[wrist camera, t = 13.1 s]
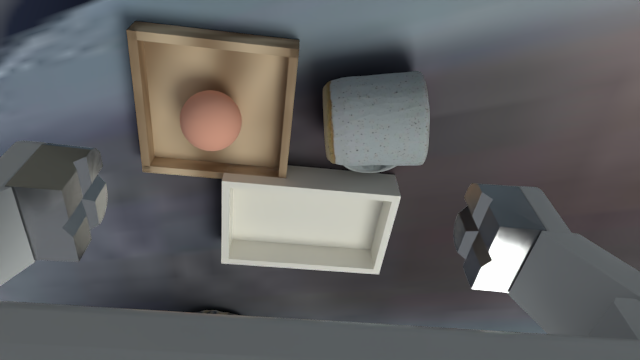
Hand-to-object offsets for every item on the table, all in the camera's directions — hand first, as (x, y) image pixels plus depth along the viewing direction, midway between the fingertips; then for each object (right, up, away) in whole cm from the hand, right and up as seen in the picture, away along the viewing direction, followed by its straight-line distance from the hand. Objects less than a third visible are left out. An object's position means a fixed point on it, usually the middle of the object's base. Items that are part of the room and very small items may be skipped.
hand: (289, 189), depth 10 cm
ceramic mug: (+5, +6, +32) cm, 33 cm away
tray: (-8, +7, +31) cm, 32 cm away
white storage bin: (-1, -3, +38) cm, 38 cm away
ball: (-8, +5, +28) cm, 30 cm away
